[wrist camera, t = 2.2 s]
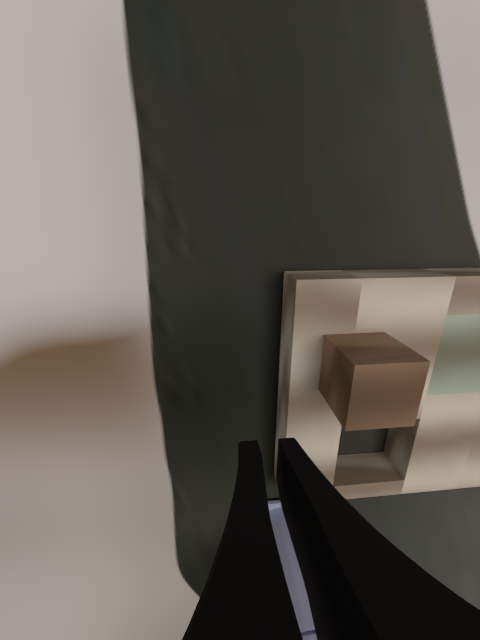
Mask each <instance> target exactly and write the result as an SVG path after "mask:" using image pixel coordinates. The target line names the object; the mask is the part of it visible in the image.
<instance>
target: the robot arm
mask: <svg viewBox="0 0 480 640" xmlns="http://www.w3.org/2000/svg"><path fill="white" fill-rule="evenodd" d="M276 481H277V486H278V492H279V497H280V500H274V501H268V500H267V492H266V485H265V477H264V469H263V461H262V455H261V451H260V448H259V445H258V442H257V440H253V441H241V442H240V443H239V444H238V472H237V478H236V484H235V490H234V495H233V499H232V503H231V507H230V511H229V515H228V519H227V522H226V526H225V529H224V533H223V536H222V539H221V542H220V545H219V548H218V551H217V554H216V557H215V560H214V563H213V566H212V568H211V571H210V574H209V577H208V579H207V582H206V584H205V587H204V589H203V592H202V594H201V597H200V599H199V602H198V604H197V606H196V609H195V611H194V614H193V616H192V619H191V621H190V623H189V626H188V628H187V630H186V632H185V635H184V637H183V639H182V640H480V610H479V609H477V608H476V607H474V606H473V605H471V604H470V603H468V602H467V601H465V600H464V599H462V598H461V597H460V596H458V595H457V594H455V593H454V592H453V591H451V590H450V589H449V588H447V587H446V586H445V585H443V584H442V583H441V582H439V581H438V580H436V579H435V578H434V577H432V576H431V575H430V574H429V573H427V572H426V571H425V570H424V569H422V568H421V567H420V566H419V565H417V564H416V563H415V562H414V561H413V560H411V559H410V558H409V557H408V556H406V555H405V554H404V553H403V552H401V551H400V550H399V549H398V548H397V547H395V546H394V545H393V544H392V543H391V542H390V541H389V540H387V539H386V538H385V537H384V536H383V535H382V534H381V533H379V532H378V531H377V530H376V529H375V528H374V527H373V526H372V525H371V524H370V523H369V522H368V521H367V520H366V519H365V518H364V517H363V516H362V515H360V514H359V513H358V512H357V511H356V509H355V508H354V507H353V506H352V505H351V504H350V503H349V502H348V501H347V500H346V499H345V498H344V497H343V496H342V495H341V494H340V493H339V492H338V490H337V489H336V488H335V487H334V486H333V485H332V484H331V483H330V481H329V480H328V479H327V478H326V477H325V476H324V474H323V473H322V472H321V471H320V470H319V469H318V467H317V466H316V465H315V464H314V462H313V461H312V460H311V459H310V457H309V456H308V455H307V454H306V452H305V451H304V450H303V448H302V447H301V446H300V444H299V443H298V442H297V440H296V439H295V438H294V437H293V438H280V439H278V452H277V471H276Z"/></svg>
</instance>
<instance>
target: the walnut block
mask: <svg viewBox="0 0 480 640" xmlns="http://www.w3.org/2000/svg"><path fill="white" fill-rule="evenodd" d="M430 362H431V361H429V360H428V359H426V358H425V357H423V356H421V355H420V354H418V353H417V352H415V351H414V350H412V349H410V348H409V347H407V346H406V345H404V344H403V343H401V342H399V341H398V340H396V339H395V338H393V337H392V336H390V335H388V334H387V333H385V332H376V333H351V334H326V335H324V342H323V351H322V361H321V370H320V380H319V389H318V390H319V391H320V393H321V394H322V396H323V397H324V399H325V401H326V402H327V404H328V405H329V407H330V408H331V410H332V411H333V413H334V415H335V416H336V418H337V419H338V421H339V422H340V424H341V426H342V427H343V429H344V430H345V431H354V430H368V429H381V428H395V427H408V426H415V422H416V418H417V414H418V410H419V406H420V402H421V398H422V394H423V390H424V386H425V382H426V378H427V374H428V370H429V366H430Z"/></svg>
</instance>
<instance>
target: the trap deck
mask: <svg viewBox="0 0 480 640" xmlns="http://www.w3.org/2000/svg"><path fill="white" fill-rule="evenodd" d="M376 332H385V333H387V334H388V335H390V336H392V337H393V338H395V339H396V340H398V341H399V342H401V343H403V344H404V345H406V346H407V347H409V348H410V349H412V350H414V351H415V352H417V353H418V354H420V355H421V356H423V357H425V358H426V359H428V360H429V361H431V362H430V366H429V370H428V374H427V378H426V382H425V386H424V390H423V394H422V398H421V402H420V406H419V410H418V414H417V418H416V422H415V426H408V427H395V428H388V431H387V436H386V441H385V445H384V450H383V452H371V453H359V454H347V455H337V454H338V447H339V440H340V433H341V424H340V422H339V421H338V419H337V418H336V416H335V415H334V413H333V411H332V410H331V408H330V407H329V405H328V404H327V402H326V401H325V399H324V397H323V396H322V394H321V393H320V391H319V390H318V389H319V380H320V370H321V361H322V351H323V342H324V335H326V334H351V333H376ZM293 437H294V438H295V439H296V440H297V442H298V443H299V444H300V446H301V447H302V448H303V450H304V451H305V452H306V454H307V455H308V456H309V457H310V459H311V460H312V461H313V462H314V464H315V465H316V466H317V467H318V469H319V470H320V471H321V472H322V473H323V474H324V476H325V477H326V478H327V479H328V480H329V481H330V483H331V484H332V485H333V486H334V487H335V488H336V489H337V490H338V492H339V493H340V494H341V495H342V496H343V497H344V498H345V499H353V498H364V497H374V496H384V495H395V494H405V493H415V492H426V491H436V490H447V489H457V488H467V487H478V486H480V268H431V269H377V270H323V271H284V282H283V302H282V322H281V342H280V362H279V382H278V402H277V422H276V442H275V462H274V476H275V480H276V471H277V452H278V439H280V438H293ZM276 484H277V481H276ZM277 488H278V486H277Z"/></svg>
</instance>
